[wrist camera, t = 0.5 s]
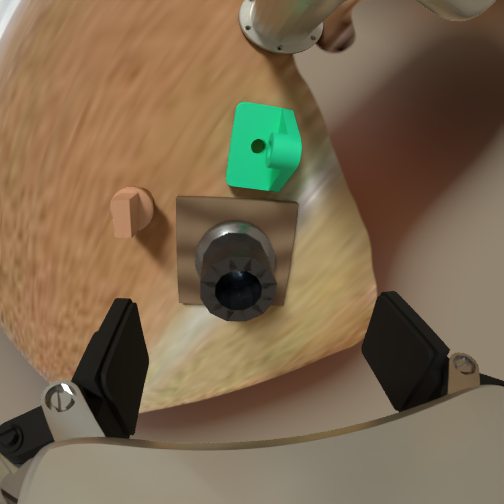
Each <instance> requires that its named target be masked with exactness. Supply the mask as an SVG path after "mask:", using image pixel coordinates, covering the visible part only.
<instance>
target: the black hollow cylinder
mask: <svg viewBox="0 0 504 504" xmlns="http://www.w3.org/2000/svg"><path fill="white" fill-rule="evenodd" d="M274 265H275V254H274V250H273V247H272V245H271V242H270V240H269V238H268V237H267V235H266V234H265V233H264V232H263V231H262V230H261V229H260V228H259V227H257V226H256V225H254V224H252V223H249V222H246V221H242V220H229V221H224V222H221V223H218V224H216V225H214V226H213V227H211V228H210V229H209V230H207V231H206V232H205V233H204V235H203V236H202V237H201V239H200V241H199V243H198V246H197V250H196V255H195V267H196V271H197V274H198V276H199V278H200V299H201V300H202V302H203V303H204V305H205V306H206V308H207V309H208V310H209V312H210V313H211V314H213V315H215V316H217V317H220V318H222V319H224V320H226V321H248V320H250V319H252V318H255V317H257V316H259V315H261V314H263V313H264V312H265V311H266V310H267V308H268V307H269V306H270V305H271V304H272V303H273V301H274V300H275V293H276V286H277V282H276V279H275V276H274V273H273V269H274Z"/></svg>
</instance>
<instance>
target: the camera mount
mask: <svg viewBox="0 0 504 504" xmlns="http://www.w3.org/2000/svg"><path fill="white" fill-rule="evenodd" d="M256 139H260V140H262V141H263V143H264V149H263V151H262V152H260V153H254V152H253V151H252V150H251V144H252V142H253V141H254V140H256ZM301 152H302V141H301V137H300V134H299V130H298V126H297V123H296V119H295V116H294V112H293V110H289V109H284V108H279V107H274V106H268V105H262V104H256V103H249V102H241V103H239V104H238V105H237V107H236V111H235V117H234V124H233V129H232V136H231V142H230V149H229V156H228V165H227V173H226V181H227V183H228V184H229V185H230V186H235V187H243V188H251V189H259V190H267V191H274V192H279V191H280V190H281V189H282V187H283V186H284V185H285V184H286V182H287V181H288V180H289V178H290V177H291V176H292V175H293V173H294V172H295V171H296V169H297V167H298V165H299V162H300V158H301Z"/></svg>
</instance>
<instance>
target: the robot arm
mask: <svg viewBox="0 0 504 504" xmlns="http://www.w3.org/2000/svg"><path fill="white" fill-rule="evenodd" d="M250 1H252V2H250ZM345 1H346V0H244V2H243V3H242V5H241V7H240V11H239V24H240V27H241V30H242V31H243V33H244V34H245V36H246V37H247V38H248V39H249V40H250V41H251V42H252V43H254V44H255V45H256V46H258V47H260V48H262V49H264V50H266V51H269V52H272V53H278V54H295V53H299V52H302V51H305V50H307V49H308V48H310V47H311V46H313V45H314V44H315V43H316V42H317V41H318V40H319V38H320V36H321V34H322V31H323V21H324V20H325V19H326V18H327V17H328V16H329V15H331V14H332V13H333V12H334V11H335V10H336V9H337V8H338V7H340V6H341V5H342V4H343V3H344V2H345ZM415 1H417V2H418V3H419V4H421V5H422V6H424V7H425V8H427V9H428V10H430V11H432V12H433V13H435V14H436V15H438V16H440V17H442V18H445V19H448V20H453V21H464V20H469V19H472V18H474V17H476V16H478V15H480V14H481V13H482V12H484V11H485V10H486V9H488V8H489V7H490V6H491V5H492V4H493V3H494V2H495V1H496V0H415ZM246 29H249V30H246ZM310 38H312V39H313V40H311V39H310ZM277 48H280V50H278V49H277ZM449 351H450V349H449V348H448V347H447V346H446V345H445V343H444V342H443V341H442V340H441V339H440V338H439V337H438V336H437V334H436V333H435V332H434V331H433V330H432V329H431V328H430V327H429V326H428V325H427V324H426V322H425V321H424V320H423V319H422V318H421V317H420V316H419V315H418V314H417V313H416V312H415V311H414V310H413V309H412V308H411V307H410V306H409V305H408V304H407V303H406V302H405V300H403V299H402V297H401V296H400V295H399V294H397V292H395V291H390V292H382V293H381V294H380V296H378V297H377V300H376V303H375V306H374V310H373V313H372V316H371V320H370V323H369V326H368V329H367V332H366V335H365V338H364V341H363V344H362V353H363V355H364V357H365V359H366V360H367V362H368V364H369V365H370V367H371V369H372V371H373V372H374V374H375V375H376V377H377V379H378V381H379V383H380V384H381V386H382V388H383V390H384V391H385V393H386V395H387V396H388V398H389V400H390V402H391V404H392V405H393V407H394V409H395V410H397V411H399V413H396V414H393V415H390V416H386V417H383V418H380V419H376V420H373V421H369V422H366V423H361V424H357V425H353V426H349V427H345V428H341V429H336V430H331V431H326V432H321V433H315V434H309V435H304V436H296V437H289V438H281V439H273V440H262V441H249V442H230V443H183V442H182V443H181V442H161V441H149V440H136V439H129V437H130V435H134V433H135V428H136V422H137V418H138V412H139V407H140V402H141V397H142V393H143V388H144V383H145V379H146V374H147V370H148V366H149V356H148V352H147V348H146V344H145V340H144V336H143V331H142V327H141V322H140V317H139V312H138V307H137V304H136V303H132V300H131V299H126V298H116V299H115V300H114V302H113V304H112V306H111V308H110V310H109V311H108V313H107V315H106V317H105V319H104V321H103V323H102V325H101V327H100V329H99V331H97V332H95V333H94V335H93V336H92V338H91V340H90V342H89V344H88V346H87V348H86V350H85V352H84V354H83V357H82V359H81V361H80V363H79V365H78V367H77V369H76V372H75V374H74V376H73V378H72V380H71V382H70V381H57V382H54V383H52V384H50V385H49V386H47V387H46V388H45V389H44V391H43V393H42V396H41V406H40V407H37V408H35V409H33V410H31V411H29V412H27V413H25V414H23V415H20V416H18V417H16V418H13V419H11V420H9V421H7V422H5V423H3V424H2V425H1V426H0V504H504V381H502V380H499V379H496V378H493V377H490V376H487V375H484V374H480V373H479V367H478V364H477V363H476V361H475V360H474V359H473V358H472V357H471V356H469V355H467V354H464V353H454V354H452V355H451V357H450V358H448V357H447V355H448V353H449Z"/></svg>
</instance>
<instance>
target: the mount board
mask: <svg viewBox="0 0 504 504" xmlns="http://www.w3.org/2000/svg"><path fill="white" fill-rule="evenodd" d="M298 206H299V204H298V203H297V202H294V201H281V200H266V199H250V198H230V197H206V196H177V198H176V241H177V273H178V293H179V303H190V304H204V303H203V302H202V300H201V299H200V278H199V276H198V274H197V271H196V267H195V255H196V250H197V246H198V243H199V241H200V239H201V237H202V236H203V235H204V233H205V232H206V231H207V230H209V229H210V228H211V227H213V226H214V225H216V224H218V223H221V222H224V221H229V220H242V221H246V222H249V223H252V224H254V225H256V226H257V227H259V228H260V229H261V230H262V231H263V232H264V233H265V234H266V235H267V237H268V238H269V240H270V242H271V245H272V247H273V250H274V254H275V265H274V269H273V273H274V276H275V279H276V282H277V286H276V293H275V300H274V301H273V303H272V304H271V305H283V304H284V298H285V292H286V286H287V280H288V274H289V268H290V261H291V255H292V248H293V242H294V235H295V228H296V221H297V214H298Z"/></svg>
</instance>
